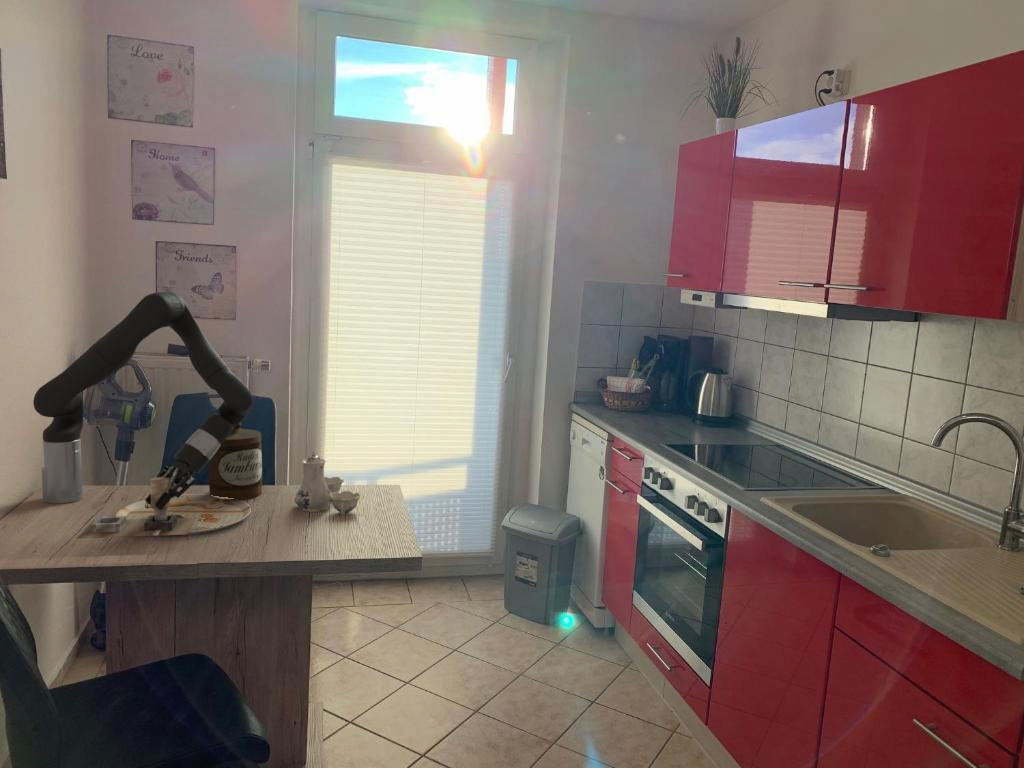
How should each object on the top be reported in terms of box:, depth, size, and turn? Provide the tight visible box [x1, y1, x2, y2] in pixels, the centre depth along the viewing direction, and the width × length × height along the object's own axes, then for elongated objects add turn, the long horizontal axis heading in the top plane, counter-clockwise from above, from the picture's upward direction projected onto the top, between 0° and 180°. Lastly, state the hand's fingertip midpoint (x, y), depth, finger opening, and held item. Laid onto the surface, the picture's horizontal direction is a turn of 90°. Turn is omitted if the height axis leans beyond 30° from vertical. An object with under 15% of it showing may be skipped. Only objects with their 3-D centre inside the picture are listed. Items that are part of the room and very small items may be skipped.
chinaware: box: [294, 451, 361, 516], centre depth 231 cm, size 28×17×17 cm, turn 32°
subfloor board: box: [76, 511, 198, 541], centre depth 203 cm, size 25×14×4 cm, turn 102°
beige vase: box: [149, 477, 171, 522], centre depth 204 cm, size 4×4×11 cm
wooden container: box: [208, 421, 263, 501], centre depth 240 cm, size 15×15×22 cm
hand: (153, 505), depth 202 cm, fingers open, 4 cm apart
